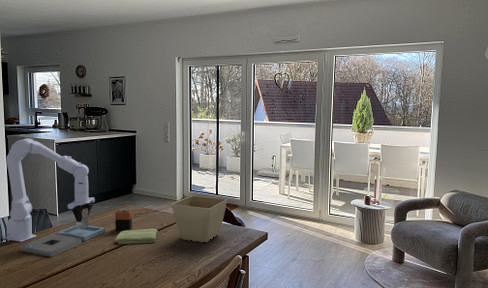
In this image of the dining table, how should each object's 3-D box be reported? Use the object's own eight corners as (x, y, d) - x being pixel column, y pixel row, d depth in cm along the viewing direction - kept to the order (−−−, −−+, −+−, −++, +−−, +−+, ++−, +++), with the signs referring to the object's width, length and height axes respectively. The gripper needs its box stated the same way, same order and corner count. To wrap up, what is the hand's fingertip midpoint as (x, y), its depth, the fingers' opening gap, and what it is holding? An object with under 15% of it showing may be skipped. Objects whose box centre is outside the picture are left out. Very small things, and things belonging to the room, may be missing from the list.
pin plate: (20, 250, 148) (20, 246, 148) (52, 238, 163) (52, 233, 163) (51, 256, 143) (51, 251, 143) (81, 243, 158) (81, 238, 158)
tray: (58, 236, 166) (58, 232, 165) (79, 228, 178) (79, 224, 178) (85, 241, 161) (84, 236, 161) (105, 232, 173) (105, 228, 173)
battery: (129, 231, 175) (129, 210, 174) (115, 231, 175) (115, 210, 174) (132, 228, 180) (132, 208, 179) (118, 228, 179) (118, 208, 179)
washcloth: (119, 235, 171) (119, 228, 170) (158, 234, 174) (158, 227, 173) (114, 245, 158) (114, 238, 158) (156, 244, 161) (156, 237, 160)
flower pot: (170, 240, 165) (170, 203, 163) (192, 228, 182) (192, 194, 181) (208, 247, 158) (209, 208, 156) (227, 234, 175) (227, 199, 174)
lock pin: (76, 228, 168) (75, 209, 167) (82, 226, 171) (81, 207, 171) (82, 229, 167) (82, 210, 166) (88, 227, 170) (88, 208, 169)
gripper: (76, 195, 159) (77, 226, 161) (99, 189, 173) (100, 217, 174) (63, 194, 162) (64, 224, 163) (87, 187, 175) (88, 215, 177)
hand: (82, 220), depth 169 cm, fingers closed on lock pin, 4 cm apart
